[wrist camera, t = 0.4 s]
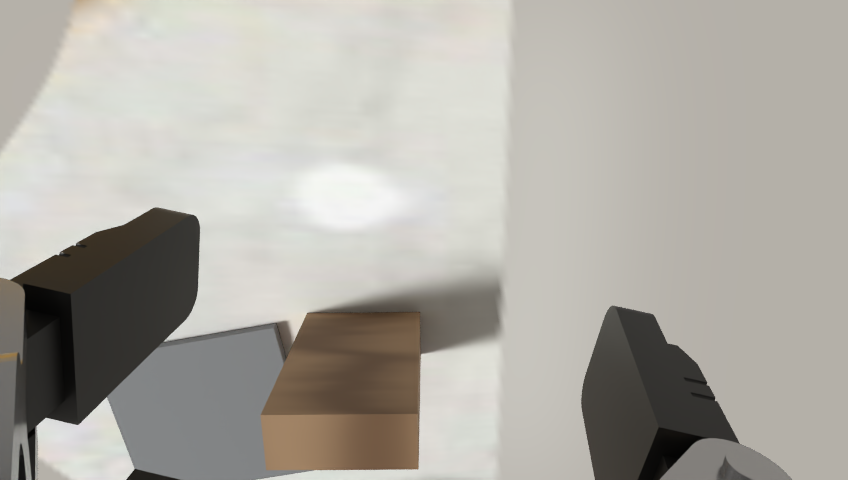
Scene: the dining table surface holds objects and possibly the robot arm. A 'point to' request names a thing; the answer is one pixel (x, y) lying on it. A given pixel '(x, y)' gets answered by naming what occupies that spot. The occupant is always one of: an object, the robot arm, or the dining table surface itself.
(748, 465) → the robot arm
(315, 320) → the walnut slab
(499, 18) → the dining table surface
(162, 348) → the rubber mat
